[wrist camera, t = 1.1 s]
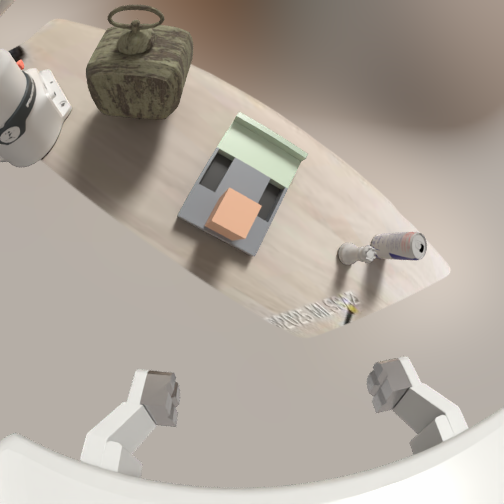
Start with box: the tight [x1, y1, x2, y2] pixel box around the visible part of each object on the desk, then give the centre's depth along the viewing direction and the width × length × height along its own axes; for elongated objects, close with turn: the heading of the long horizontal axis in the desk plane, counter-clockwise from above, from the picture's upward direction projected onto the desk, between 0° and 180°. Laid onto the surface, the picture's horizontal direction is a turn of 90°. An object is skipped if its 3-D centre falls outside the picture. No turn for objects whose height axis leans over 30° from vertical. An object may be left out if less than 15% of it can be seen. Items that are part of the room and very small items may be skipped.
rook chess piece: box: [338, 243, 377, 265], centre depth 49 cm, size 4×4×8 cm
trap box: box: [177, 112, 308, 256], centre depth 44 cm, size 20×14×4 cm
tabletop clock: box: [86, 5, 193, 119], centre depth 29 cm, size 14×9×25 cm, turn 83°
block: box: [205, 187, 262, 241], centre depth 39 cm, size 5×5×8 cm
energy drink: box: [371, 232, 427, 260], centre depth 49 cm, size 5×5×12 cm
